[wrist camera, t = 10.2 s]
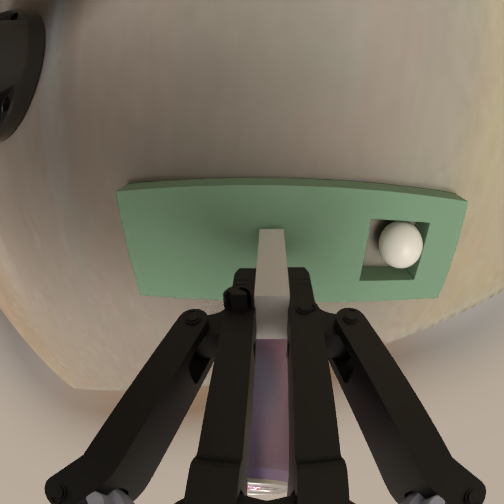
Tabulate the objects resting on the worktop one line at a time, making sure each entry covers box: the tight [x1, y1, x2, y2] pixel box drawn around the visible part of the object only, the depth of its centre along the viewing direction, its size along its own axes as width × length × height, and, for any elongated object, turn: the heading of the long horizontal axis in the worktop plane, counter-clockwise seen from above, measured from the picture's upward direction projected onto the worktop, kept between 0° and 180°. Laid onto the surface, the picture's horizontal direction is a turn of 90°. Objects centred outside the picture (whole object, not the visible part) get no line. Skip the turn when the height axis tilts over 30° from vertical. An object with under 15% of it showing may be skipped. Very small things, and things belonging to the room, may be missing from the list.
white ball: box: [379, 221, 423, 268], centre depth 18 cm, size 4×4×4 cm
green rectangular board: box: [116, 178, 468, 302], centre depth 19 cm, size 26×9×2 cm, turn 91°
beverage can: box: [247, 339, 289, 495], centre depth 19 cm, size 6×6×15 cm
